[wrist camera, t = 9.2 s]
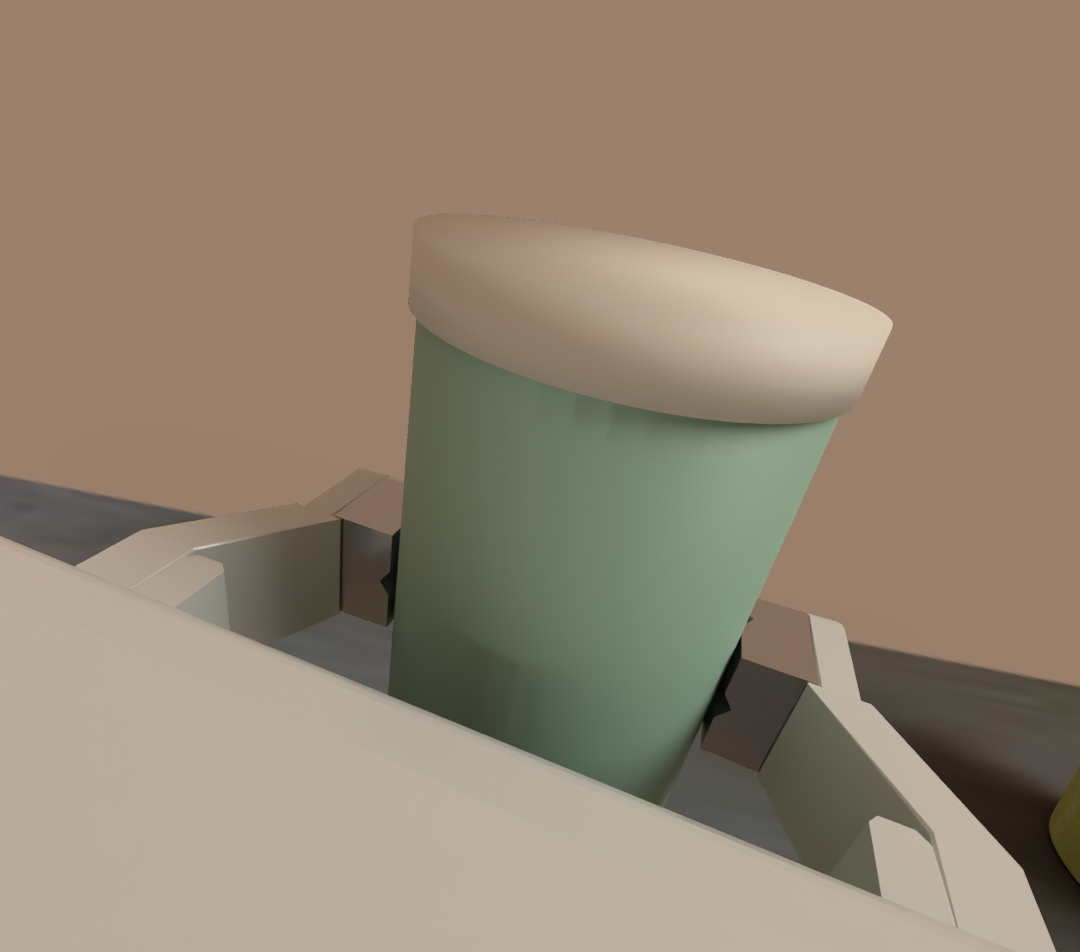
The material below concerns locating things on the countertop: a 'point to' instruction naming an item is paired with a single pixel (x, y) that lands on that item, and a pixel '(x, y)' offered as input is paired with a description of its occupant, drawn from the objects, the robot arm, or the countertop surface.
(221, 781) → the robot arm
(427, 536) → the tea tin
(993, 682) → the countertop surface
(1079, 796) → the plant pot
